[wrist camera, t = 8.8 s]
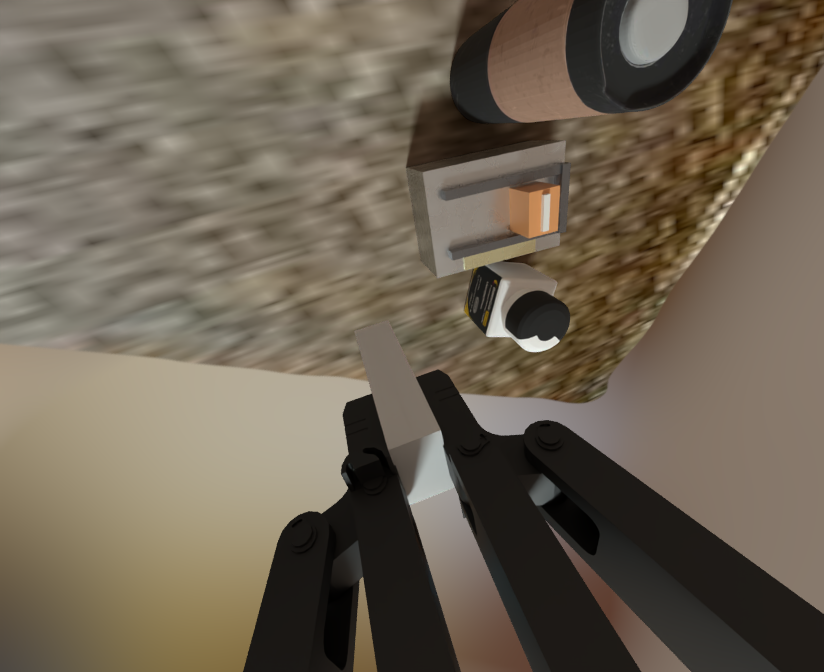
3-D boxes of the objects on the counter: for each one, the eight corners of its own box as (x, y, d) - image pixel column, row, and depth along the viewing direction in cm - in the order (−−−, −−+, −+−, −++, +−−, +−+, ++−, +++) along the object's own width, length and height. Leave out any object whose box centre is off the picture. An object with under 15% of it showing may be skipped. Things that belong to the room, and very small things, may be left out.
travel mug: (511, 13, 31) (753, -140, 14) (526, 107, 35) (727, 76, 18) (435, 48, 31) (590, -64, 14) (459, 139, 35) (601, 137, 18)
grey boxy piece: (406, 167, 35) (426, 173, 29) (530, 140, 37) (574, 140, 31) (421, 260, 40) (441, 282, 34) (529, 232, 42) (566, 248, 36)
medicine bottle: (474, 258, 42) (528, 296, 32) (525, 262, 44) (589, 298, 34) (462, 312, 45) (507, 361, 35) (509, 313, 47) (565, 359, 37)
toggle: (509, 188, 33) (531, 193, 29) (537, 181, 33) (563, 185, 30) (509, 230, 35) (531, 239, 31) (536, 223, 35) (560, 231, 32)
